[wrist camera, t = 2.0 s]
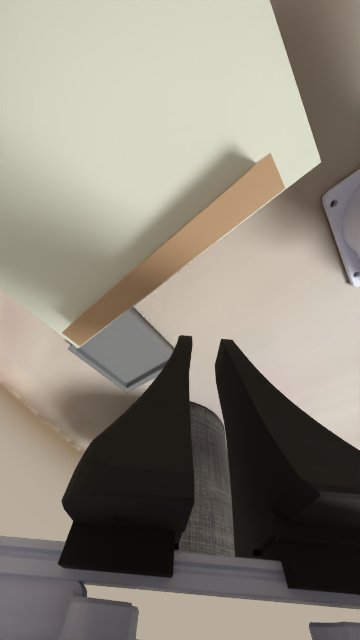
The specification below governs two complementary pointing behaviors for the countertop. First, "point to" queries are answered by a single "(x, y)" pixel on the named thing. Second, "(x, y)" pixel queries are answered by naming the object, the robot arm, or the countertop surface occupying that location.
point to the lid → (135, 145)
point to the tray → (127, 351)
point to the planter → (209, 489)
